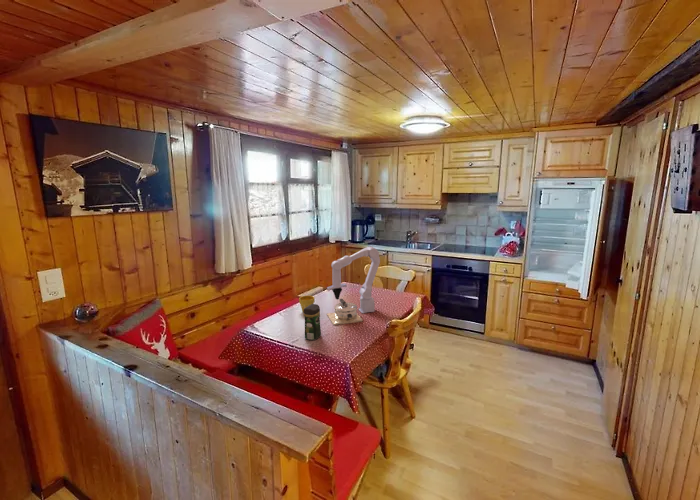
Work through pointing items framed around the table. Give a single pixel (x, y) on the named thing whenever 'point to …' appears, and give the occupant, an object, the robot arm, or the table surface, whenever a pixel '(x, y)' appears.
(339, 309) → the cooker lid
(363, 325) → the table surface
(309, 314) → the coffee jar
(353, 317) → the tan square board
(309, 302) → the plant pot
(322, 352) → the table surface
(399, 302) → the table surface
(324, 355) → the table surface
